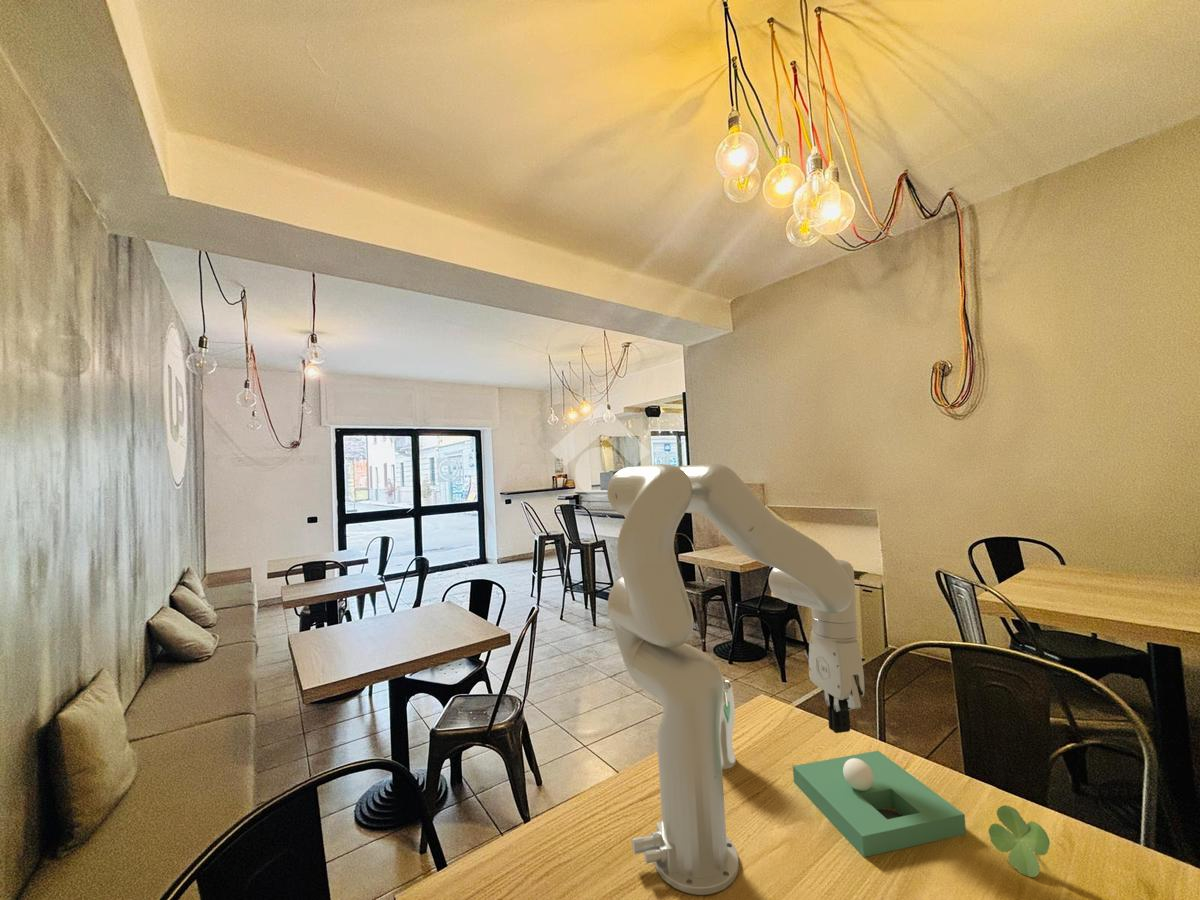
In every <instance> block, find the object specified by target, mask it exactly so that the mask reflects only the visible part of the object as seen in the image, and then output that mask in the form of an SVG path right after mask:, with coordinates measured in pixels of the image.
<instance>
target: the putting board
mask: <svg viewBox="0 0 1200 900" xmlns="http://www.w3.org/2000/svg"><path fill="white" fill-rule="evenodd" d="M852 758H857V759H860V760H862V761H864V762H865V763H866V764H867V765H868V766H869V767H870V768H871V770H872V772H873V776H874V781H873V784H872V786H871V787H870V788H869V789H868V790H865V791H860V790H856V789H854V788H853V787H851V786H850V785H849V784H848V782H847V781H846V779H845V777H844V774H843V767H844V764H845V763H846V761H848V760H849V759H852ZM792 773H793V774H792V775H793V776H792V777H793V783H794V784H795V785H796V786H797V787H798V789H800V791H801V792H802V793H803V794H804V795H805V796H806V797H807V798H808V799H809V800H810V802H812V804H813V805H815V807H816V809H818V810H819V811H820V812H821V813H822V815H824V816H825V818H826V819H827V820H828V821H829V823H831V824H832V825H833V826H834V827H835V828H836V829H837V831H838V832H840V833H841V834H842V836H843V837H844V838H845V839H846V840H847V841H848V842H849V843H850V844H851V845H852V846H853V847H854V848H855V849H856V851H857V852H858V853H859V854H860V855H861V856H862V857H863V858H867V857H871V856H876V855H881V854H884V853H889V852H893V851H898V850H903V849H906V848H911V847H915V846H919V845H920V846H921V845H925V844H930V843H932V842H937V841H943V840H947V839H950V838H954V837H955V838H956V837H960V836H964V835H966V834H967V829H966V819H965V818H966V816H965V815H966V814H965V813H963V812H962V811H961V810H960V809H958V808H956V807H955V805H952V803H951V802H949V801H947V799H945V798H943V797H942V796H941V795H939V794H938V793H936V792H935V791H933V790H932V789H931V788H930V787H929V786H927V785H926V784H924V783H923V782H922V781H920V780H919V779H917V778H916V777H915V776H913V775H912V774H910V773H909V772H908V771H907V770H905V769H904V768H902V767H901V766H900V765H898V764H897V763H896V762H894V761H893V760H892V759H890V757H887V756H886V755H885V754H884V753H882V752H881V751H879V750H874V751H869V752H862V753H857V754H850V755H845V756H840V757H836V758H835V757H834V758H829V759H824V760H819V761H814V762H807V763H803V764H797V765H792ZM889 808H894V809H895V810H890V809H889ZM896 811H897V812H896Z"/></svg>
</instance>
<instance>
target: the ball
mask: <svg viewBox="0 0 1200 900" xmlns="http://www.w3.org/2000/svg"><path fill="white" fill-rule="evenodd" d="M843 774H844V777H845V779H846V781H847V782H848V784H849V785H850V786H851V787H853V788H854V789H856V790H860V791H865V790H868V789H869V788H870V787H871V786H872V784H873V781H874V776H873V772H872V770H871V768H870V767H869V766H868V765H867V764H866V763H865V762H864V761H862V760H860V759H857V758H852V759H849V760H848V761H846V763H845V764H844V767H843Z"/></svg>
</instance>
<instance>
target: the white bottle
mask: <svg viewBox="0 0 1200 900" xmlns="http://www.w3.org/2000/svg"><path fill="white" fill-rule="evenodd" d="M733 692H734V690H733V684H732V682H730V681H729V680H727V679H725V678H723V698H722V705H721V713H720V747H721V761H722V770H729V769H732V768H733V767H734V766H735V765H736V755H735V751H734V747H733V745H734V743H733V736H734V727H735V726H734V725H735V718H736V717H735V715H736V713H735V712H736V711H735V707H736V706H735V699H734V698H735V697H734V693H733Z"/></svg>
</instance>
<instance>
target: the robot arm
mask: <svg viewBox="0 0 1200 900" xmlns="http://www.w3.org/2000/svg"><path fill="white" fill-rule="evenodd" d="M607 499H608V503H609V504H610V506H611V507H612V509H614V511H615V512H616V513H618V514H619V515H621V516H624V520H623V522H622V525H621V528H620V531H619V535H618V538H617V545H616V546H617V548H616V550H617V558H618V559H617V560H618V565H619V568H620V571H621V577H620V578H618V579H617V580H616V581H615V582H614V583H613V585H612V587H611V589H610V591H609V595H608V599H607V612H608V617H609V621H610V624H611V625H610V626H611V627H612V631H613V634H614V636H615V640H616V642H617V645H618V649H619V652H620V655H621V657H622V661H623V663H624V666H625V668H626V671H627V673H628V675H629V676H630V678H631V680H632V681H633V682H634V684H636V685H637V686H638V687H640V688H641V689H642V690H643V691H645V692H646V693H647V694H649V695H650V696H652V697H653V698H654V700H655V699H656V700H657V702H659V703H660V704H661V706H662V710H663V711H662V712H663V713H662V716H661V720H660V722H659V725H658V728H657V735H656V746H657V748H656V750H657V762H658V777H659V797H660V798H659V799H660V811H661V813H660V814H661V821H659V822H657V821H656V831H651V833H650V835H646V836H638V837H634V838H631V847H632V852H633V853H632V854H634V855H640V854H643V856H644V861H645V864H652V863H654V867H655V870H656V871H657V872H658V874H659V876H660V877H661V878H662V879H663V880H664V882H666V883H667V884H668V885H669V886H671V887H672V888H674V889H676V890H678V891H680V892H683V893H687V894H690V895H696V896H697V895H699V896H700V895H701V896H703V895H712V894H716V893H719V892H720V891H724V890H725V889H726V888H728V887H729V886H730V885H731V884H732V883H733V882H734V881H735V879H736V878H737V875H738V872H739V870H740V869H739V868H740V867H739V866H740V864H739V863H740V862H739V856H738V855H739V854H738V851H737V848H736V846H735V845H734V843H733V842H732V840H731V839H730V838H729V837H728V836H727V830H726V828H727V827H726V813H725V811H726V809H725V798H724V797H725V796H724V794H725V793H724V781H723V769H722V761H721V747H720V713H721V705H722V698H723V679H724V678H723V674H722V672H721V670H720V668H719V666H718V665H717V664H716V662H715V660H713V659H712V658H711V657H710V656H709V655H708V654H707V653H705V652H703V651H702V650H700V649H698V648H696V647H694V646H692V645H690V644H688V643H686V642H687V641H688V640H689V639H690V638H691V635H692V634H693V631H694V626H695V625H694V622H695V621H694V615H693V608H692V605H691V602H690V599H689V595H688V592H687V589H686V587H685V583H684V581H683V577H682V574H681V572H680V571H681V570H680V568H679V566H678V562H677V556H676V554H675V553H676V552H675V537H676V533H677V529H678V527H679V525H680V523H681V520H682V519H683V517H684V516H685V514H686V513H687V514H700V515H702V516H704V517H705V518H706V519H707V520H708V521H709V522H710V523H711V524H712V525H713V526H714V527H715V528H716V529H717V530H718V531H719V532H720V533H721V534H722V536H724V537H725V538H726V540H727V541H728V542H729V543H730V544H732V546H733V547H734V548H735V549H736V550H737V551H739V553H741V555H742V554H743V555H745V556H746V557H748V558H750V559H752V560H754V561H756V562H758V563H761V564H763V565H766V566H767V567H771V568H772V569H771V571H770V573H769V575H768V586H769V589H770V591H771V592H772V594H773V595H774V596H776V597H777V599H779V600H782V601H784V602H787V603H789V604H793V605H797V606H800V607H806V608H809V609H811V626H812V629H811V630H810V636H809V643H808V675H809V676H808V677H809V679H810V681H811V682H812V683H813V685H816V687H818V688H819V689H821V690H822V692H823V694H824V701H825V704H826V705H827V715H828V728H829V730H831V731H832V732H833V733H835V734H840V733H841V734H842V733H849V732H850V731H851V721H850V720H851V719H850V717H851V716H850V711H852V710H853V709H854V710H855V709H861V708H862V704H861V699H863V697H864V696H865V676H864V675H865V674H864V667H863V666H864V665H863V659H862V653H861V649H860V644H859V643H860V642H859V640H858V622H857V604H856V589H855V587H856V585H855V570H854V568H853V565H852V563H850V562H848V561H846V560H842V559H836V558H835V557H834V556H833V555H832V554H831V553H830V552H829V551H828V550H827V549H826V548H825V547H824V546H822V545H821V544H820V543H818V542H817V541H815V540H814V539H812V538H810V537H809V536H807V535H805V534H803V533H802V532H800V531H799V530H797V529H795V528H794V527H792V526H791V525H789V524H787V523H785V522H784V521H782V520H780V519H779V518H777V517H776V515H774V514H773V513H772V512H771V511H770V510H769V509H768V508H767V506H765V504H764V503H763V502H762V501H761V500H760V498H759V497H758V496H757V495H756V494H755V493H754V492H753V491H752V490H751V488H750V487H749V486H748V485H747V484H746V483H745V482H744V481H743V480H742V478H741V477H740V476H739V475H738V474H737V473H736V472H735V471H734V470H733V469H731V468H730V467H729V466H726V465H724V464H719V463H702V464H689V465H677V466H675V465H671V464H664V463H663V464H662V463H661V464H649V465H637V466H627V467H624V468H622V469H620V470H618V471H617V472H616V473H614V474H613V475H612V477H611V478H610V479H609V481H608V485H607Z"/></svg>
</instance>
